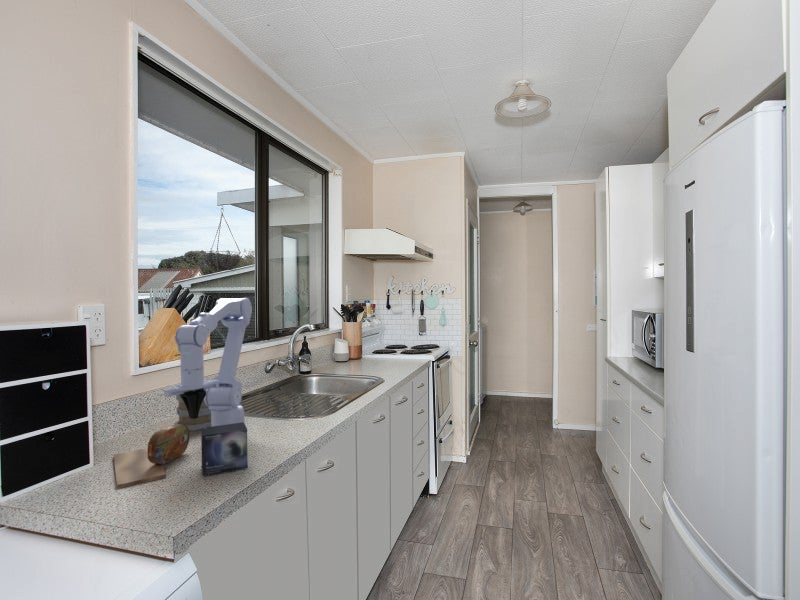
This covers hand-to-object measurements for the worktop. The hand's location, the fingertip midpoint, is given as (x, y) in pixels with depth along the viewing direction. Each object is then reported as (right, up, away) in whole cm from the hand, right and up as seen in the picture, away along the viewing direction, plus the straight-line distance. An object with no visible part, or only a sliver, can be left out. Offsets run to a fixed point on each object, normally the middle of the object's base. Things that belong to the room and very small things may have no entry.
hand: (193, 417), depth 123 cm
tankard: (-9, -10, +31) cm, 34 cm away
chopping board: (-11, -11, -7) cm, 17 cm away
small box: (+12, -11, -10) cm, 19 cm away
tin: (-5, -10, -4) cm, 12 cm away
